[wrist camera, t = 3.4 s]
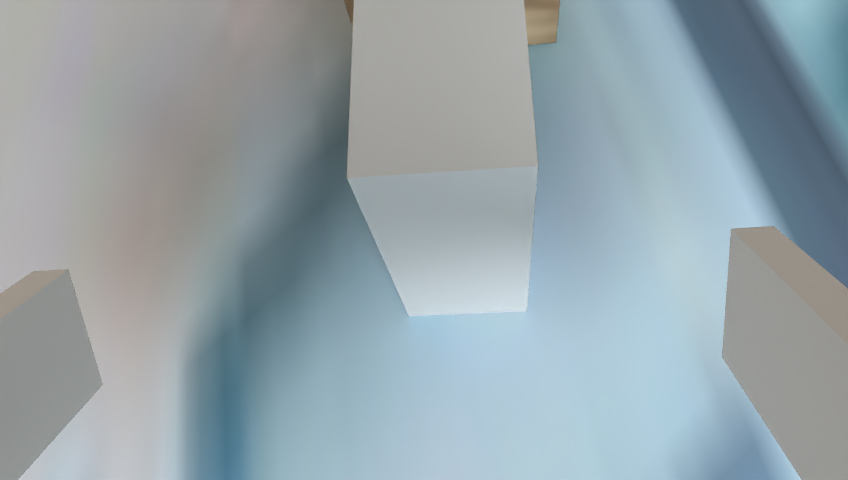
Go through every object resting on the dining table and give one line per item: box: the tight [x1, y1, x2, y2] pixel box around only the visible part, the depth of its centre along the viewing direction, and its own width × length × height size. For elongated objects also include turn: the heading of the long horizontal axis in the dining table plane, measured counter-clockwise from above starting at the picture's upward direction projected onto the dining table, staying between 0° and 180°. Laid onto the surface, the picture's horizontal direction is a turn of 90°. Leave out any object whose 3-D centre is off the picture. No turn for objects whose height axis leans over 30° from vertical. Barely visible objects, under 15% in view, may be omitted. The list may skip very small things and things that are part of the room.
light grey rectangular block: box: [347, 0, 538, 316], centre depth 22 cm, size 4×18×10 cm, turn 0°
